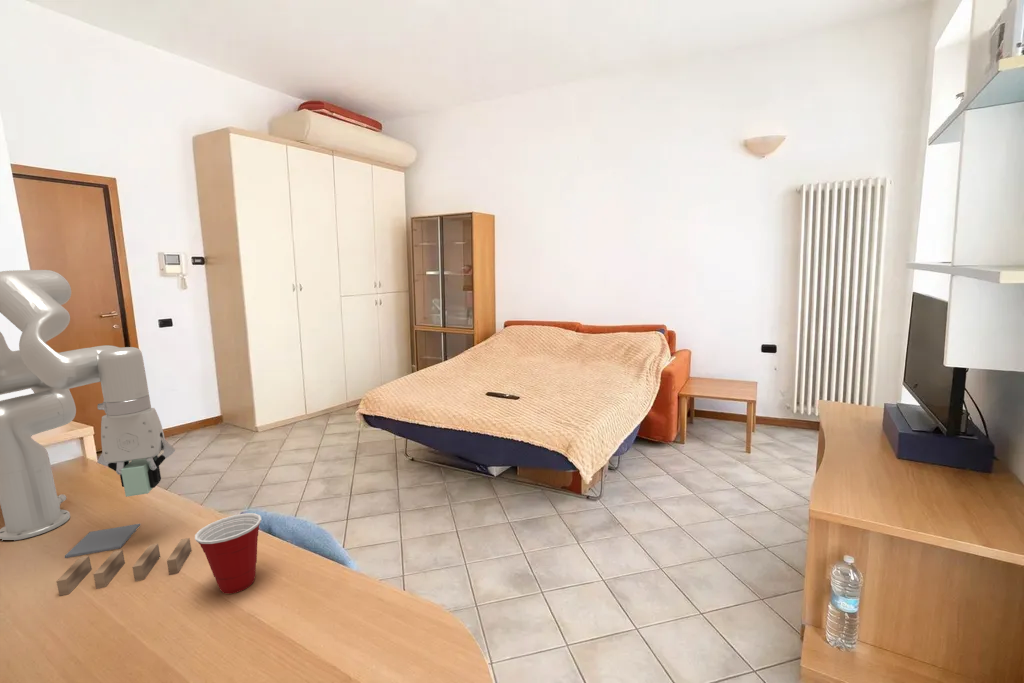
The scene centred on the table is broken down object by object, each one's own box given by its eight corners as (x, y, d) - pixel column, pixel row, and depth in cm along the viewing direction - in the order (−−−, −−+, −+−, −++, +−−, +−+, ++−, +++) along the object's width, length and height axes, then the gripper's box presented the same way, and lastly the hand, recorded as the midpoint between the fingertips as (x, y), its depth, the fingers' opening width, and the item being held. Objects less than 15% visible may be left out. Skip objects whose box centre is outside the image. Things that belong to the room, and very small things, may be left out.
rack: (82, 570, 99) (80, 557, 98) (191, 550, 104) (189, 537, 104) (59, 595, 91) (56, 581, 91) (177, 572, 97) (175, 559, 96)
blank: (140, 482, 110) (135, 457, 109) (160, 479, 111) (156, 454, 110) (125, 496, 103) (120, 469, 102) (147, 493, 104) (143, 466, 103)
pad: (90, 533, 113) (89, 531, 113) (140, 525, 116) (140, 523, 116) (65, 558, 104) (64, 555, 104) (120, 548, 107) (120, 546, 106)
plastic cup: (258, 559, 100) (250, 504, 98) (277, 581, 92) (269, 522, 90) (197, 585, 93) (187, 526, 91) (212, 612, 85) (202, 548, 83)
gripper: (70, 416, 98) (87, 501, 101) (167, 406, 102) (180, 488, 105) (90, 406, 105) (105, 486, 108) (180, 396, 110) (192, 474, 113)
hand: (142, 486), depth 107 cm, fingers closed on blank, 4 cm apart
